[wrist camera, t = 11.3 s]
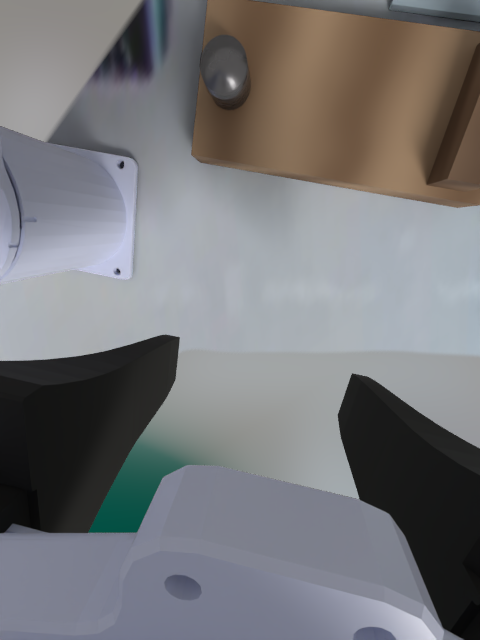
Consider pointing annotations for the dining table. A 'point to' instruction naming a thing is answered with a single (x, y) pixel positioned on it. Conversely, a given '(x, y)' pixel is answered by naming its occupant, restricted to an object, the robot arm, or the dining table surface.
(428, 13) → the blue-grey mat
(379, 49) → the body
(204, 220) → the dining table surface
